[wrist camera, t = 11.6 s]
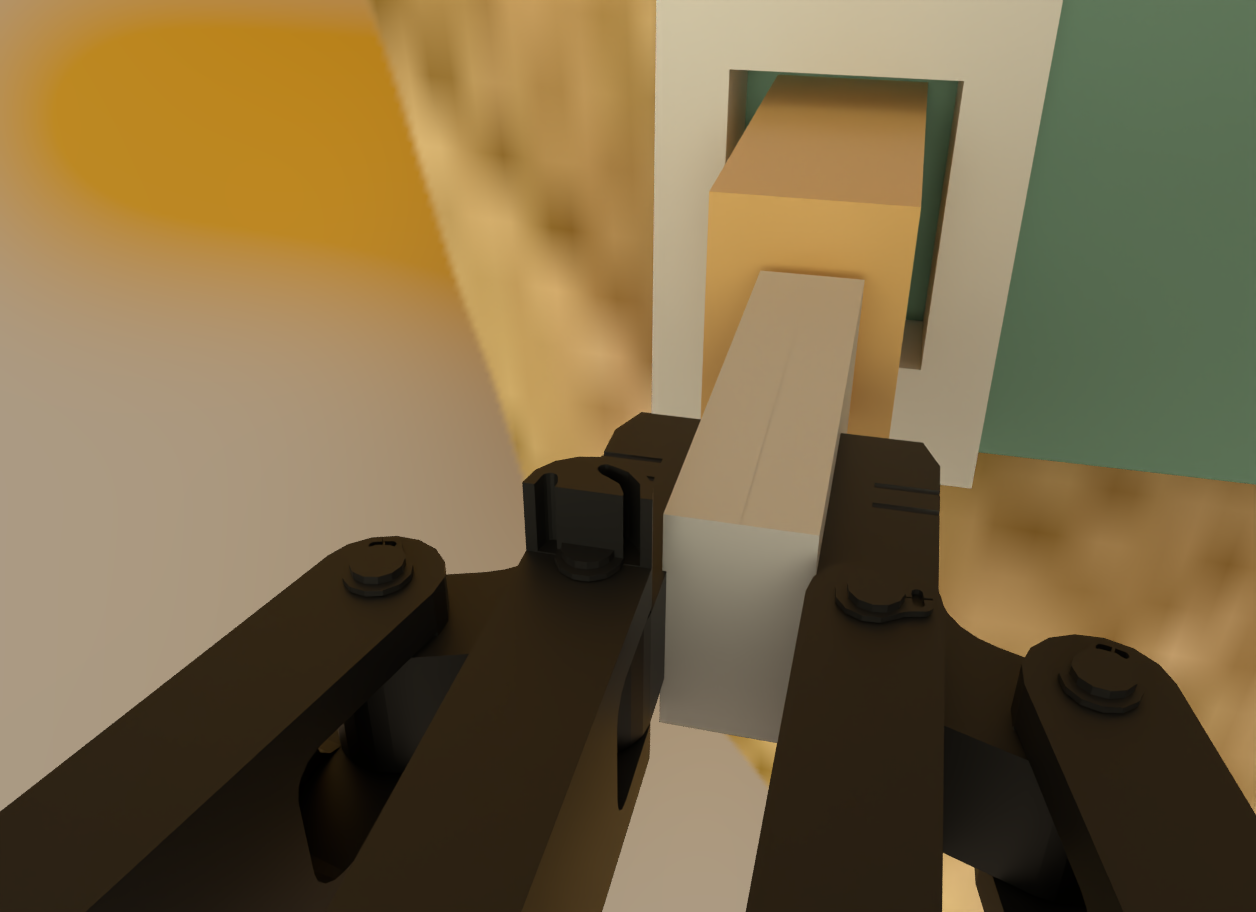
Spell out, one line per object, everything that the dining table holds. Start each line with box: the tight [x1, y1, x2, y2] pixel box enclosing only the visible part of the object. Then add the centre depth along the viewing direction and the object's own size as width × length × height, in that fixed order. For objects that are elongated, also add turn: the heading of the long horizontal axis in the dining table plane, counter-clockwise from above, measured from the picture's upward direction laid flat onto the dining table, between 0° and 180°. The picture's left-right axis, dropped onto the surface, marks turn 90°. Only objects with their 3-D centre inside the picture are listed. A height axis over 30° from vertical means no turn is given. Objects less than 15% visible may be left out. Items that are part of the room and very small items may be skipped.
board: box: [652, 0, 1256, 488], centre depth 22 cm, size 21×12×4 cm, turn 89°
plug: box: [701, 75, 928, 439], centre depth 20 cm, size 3×5×8 cm, turn 179°
